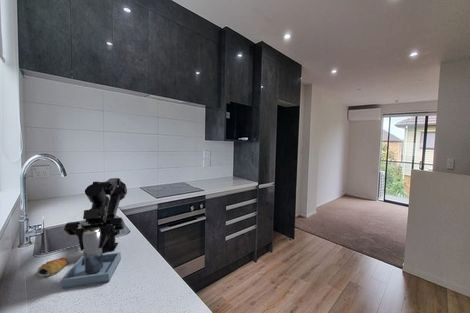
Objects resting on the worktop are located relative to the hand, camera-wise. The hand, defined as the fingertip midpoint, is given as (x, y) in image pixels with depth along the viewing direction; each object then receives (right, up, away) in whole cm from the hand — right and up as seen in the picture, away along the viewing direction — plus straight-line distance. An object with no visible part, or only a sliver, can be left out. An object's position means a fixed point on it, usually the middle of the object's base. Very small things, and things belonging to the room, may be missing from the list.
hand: (91, 249), depth 76 cm
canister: (0, -8, +2) cm, 8 cm away
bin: (0, -10, +2) cm, 10 cm away
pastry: (-17, -10, +4) cm, 20 cm away
